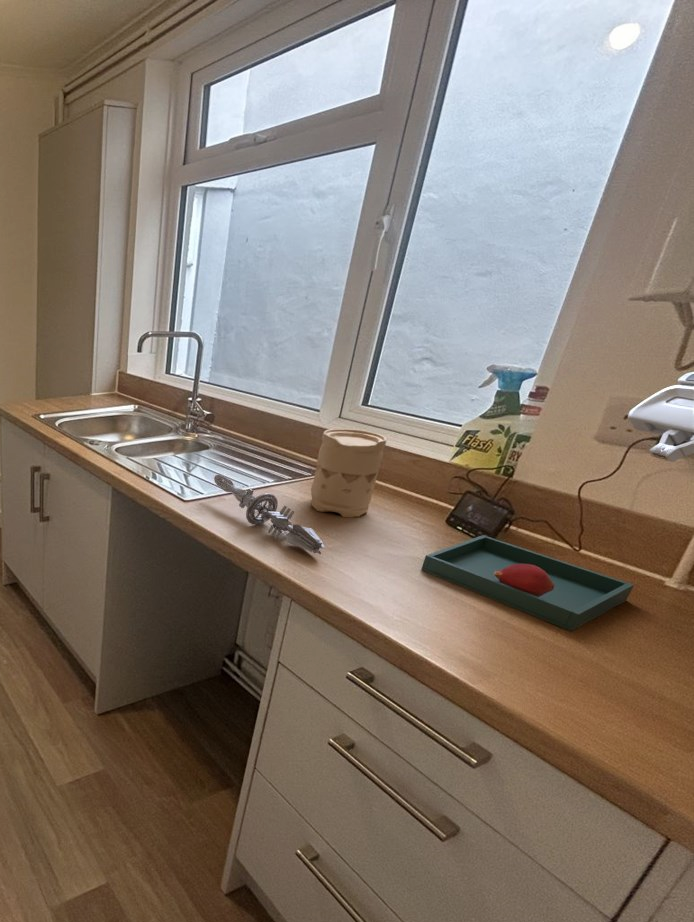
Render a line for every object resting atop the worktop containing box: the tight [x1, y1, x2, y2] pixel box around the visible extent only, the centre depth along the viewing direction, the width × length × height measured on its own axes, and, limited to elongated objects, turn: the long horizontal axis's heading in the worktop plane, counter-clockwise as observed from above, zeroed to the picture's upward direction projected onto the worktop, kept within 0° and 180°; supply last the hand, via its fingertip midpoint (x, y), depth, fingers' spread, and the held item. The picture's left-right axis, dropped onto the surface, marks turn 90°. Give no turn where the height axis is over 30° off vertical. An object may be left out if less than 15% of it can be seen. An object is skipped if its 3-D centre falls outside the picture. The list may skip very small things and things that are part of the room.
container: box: [310, 428, 388, 518], centre depth 124 cm, size 13×13×18 cm
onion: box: [494, 564, 554, 597], centre depth 88 cm, size 6×6×8 cm
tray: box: [421, 534, 635, 632], centre depth 93 cm, size 22×20×3 cm
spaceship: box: [213, 474, 326, 555], centre depth 117 cm, size 8×35×8 cm
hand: (659, 456), depth 84 cm, fingers closed
